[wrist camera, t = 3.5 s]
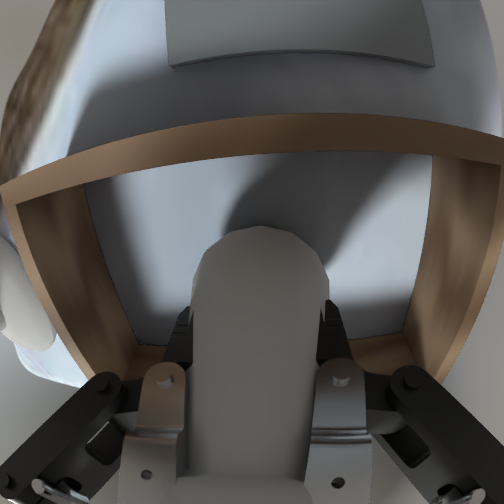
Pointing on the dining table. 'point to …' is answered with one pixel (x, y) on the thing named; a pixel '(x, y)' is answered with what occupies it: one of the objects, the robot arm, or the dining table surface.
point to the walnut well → (261, 142)
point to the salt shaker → (252, 369)
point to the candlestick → (21, 304)
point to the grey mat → (297, 29)
